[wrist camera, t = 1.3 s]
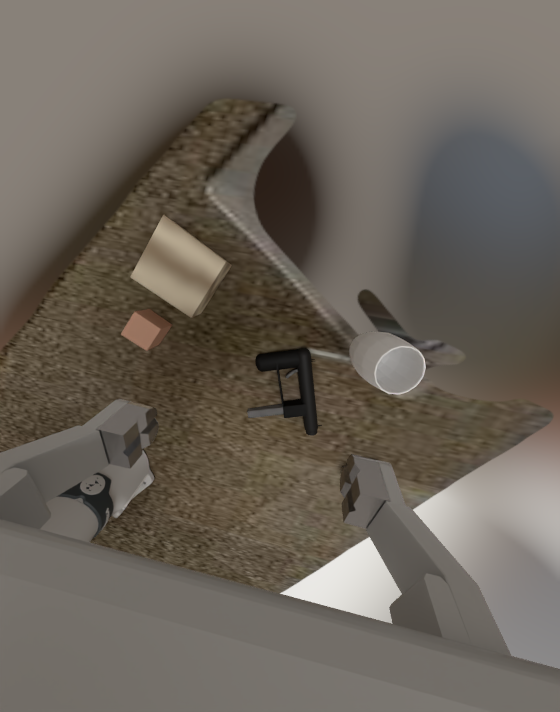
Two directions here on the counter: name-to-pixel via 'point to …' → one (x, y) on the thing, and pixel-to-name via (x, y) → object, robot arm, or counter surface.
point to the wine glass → (387, 362)
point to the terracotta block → (146, 329)
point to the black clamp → (304, 369)
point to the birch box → (180, 268)
